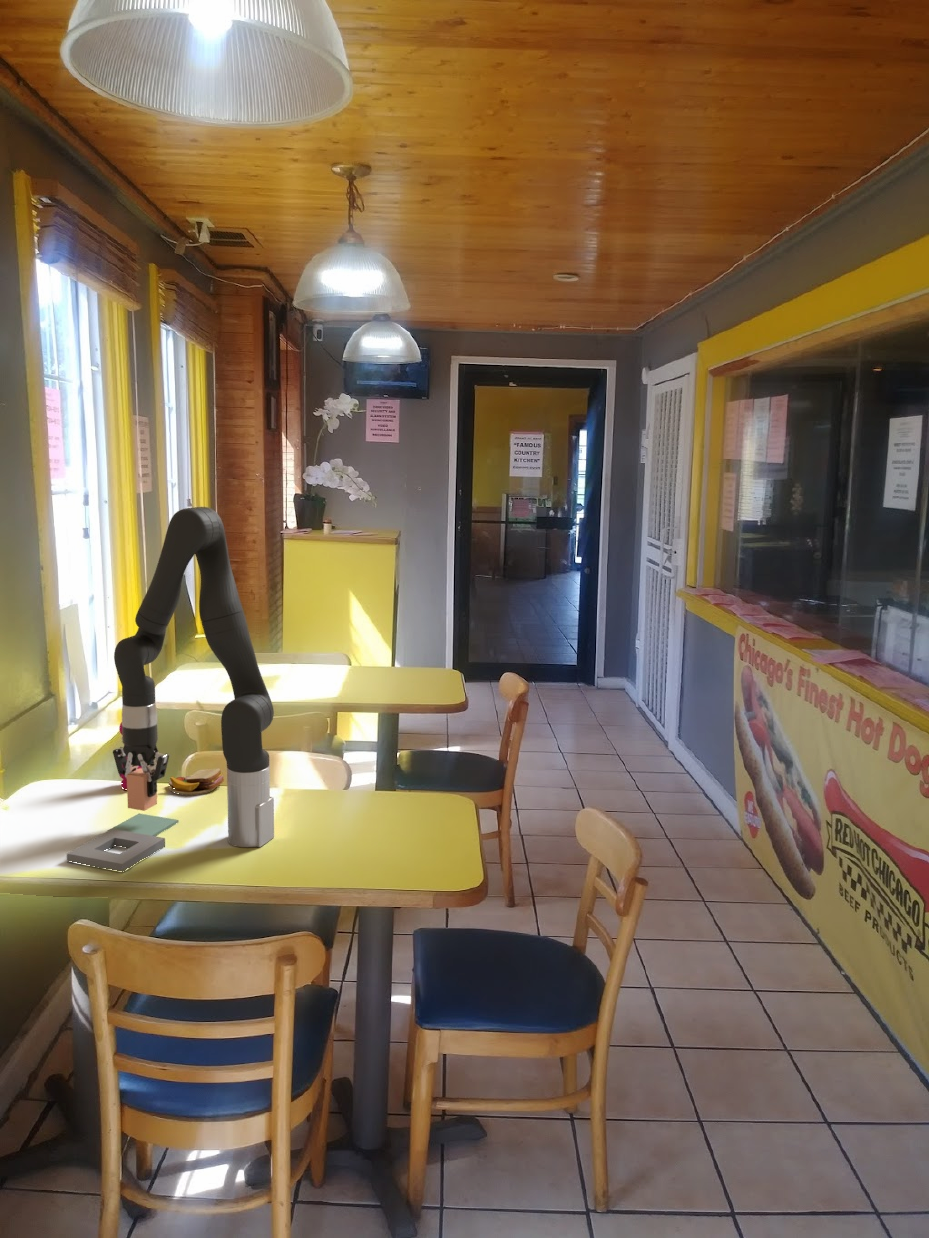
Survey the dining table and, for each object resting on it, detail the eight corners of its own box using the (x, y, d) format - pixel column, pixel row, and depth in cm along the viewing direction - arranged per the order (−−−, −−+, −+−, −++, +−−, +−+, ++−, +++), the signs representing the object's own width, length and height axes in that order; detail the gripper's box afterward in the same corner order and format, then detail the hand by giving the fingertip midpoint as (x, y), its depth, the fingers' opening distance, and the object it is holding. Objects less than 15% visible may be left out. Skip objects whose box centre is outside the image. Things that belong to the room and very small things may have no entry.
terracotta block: (157, 804, 211) (156, 770, 210) (144, 810, 207) (143, 777, 205) (140, 801, 212) (139, 768, 211) (127, 808, 208) (126, 774, 207)
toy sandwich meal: (187, 777, 244) (187, 760, 244) (231, 784, 240) (231, 767, 239) (158, 793, 233) (157, 775, 232) (203, 800, 228) (203, 782, 228)
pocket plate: (165, 846, 200) (165, 838, 200) (122, 873, 187) (122, 863, 187) (112, 837, 205) (111, 828, 204) (67, 862, 192) (66, 853, 191)
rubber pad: (178, 822, 214) (178, 819, 214) (148, 840, 204) (148, 837, 203) (139, 815, 217) (139, 813, 217) (107, 832, 207) (107, 830, 207)
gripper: (176, 721, 207) (178, 793, 210) (124, 714, 212) (126, 784, 215) (155, 730, 200) (158, 804, 203) (102, 723, 205) (105, 795, 208)
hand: (142, 794), depth 209 cm, fingers closed on terracotta block, 4 cm apart
